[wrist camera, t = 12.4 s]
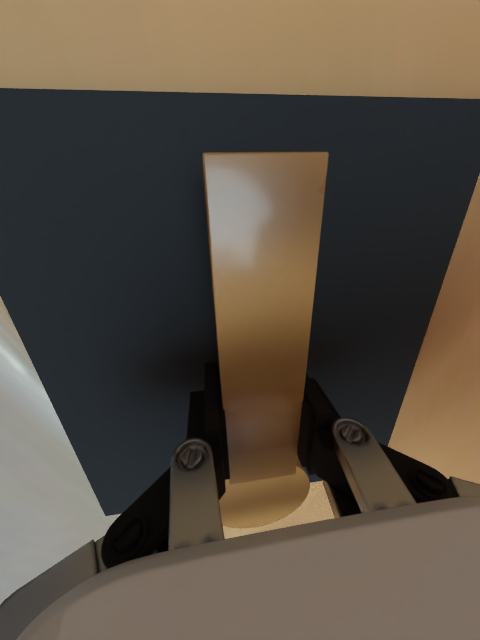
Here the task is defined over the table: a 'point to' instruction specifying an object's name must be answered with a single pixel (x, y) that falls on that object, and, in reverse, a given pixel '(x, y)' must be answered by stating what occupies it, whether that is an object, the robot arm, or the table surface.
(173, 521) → the robot arm
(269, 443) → the wooden disc with bar
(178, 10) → the table surface
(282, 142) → the mat
